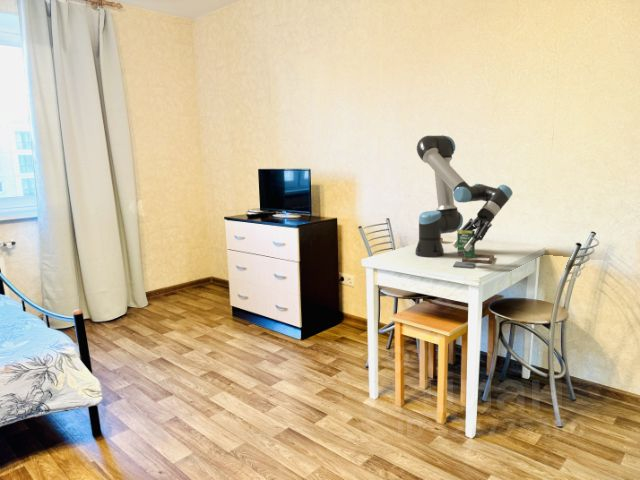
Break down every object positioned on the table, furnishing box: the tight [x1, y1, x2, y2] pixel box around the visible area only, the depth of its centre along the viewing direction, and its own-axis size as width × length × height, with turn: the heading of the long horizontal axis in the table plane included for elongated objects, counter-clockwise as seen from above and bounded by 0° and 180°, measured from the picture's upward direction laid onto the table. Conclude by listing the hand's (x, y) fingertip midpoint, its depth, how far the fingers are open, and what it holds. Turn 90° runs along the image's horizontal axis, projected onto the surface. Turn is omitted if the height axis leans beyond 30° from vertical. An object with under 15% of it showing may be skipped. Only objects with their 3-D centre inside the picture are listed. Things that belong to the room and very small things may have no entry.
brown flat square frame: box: [461, 253, 495, 265], centre depth 226 cm, size 14×15×2 cm
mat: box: [452, 261, 476, 269], centre depth 215 cm, size 9×9×1 cm
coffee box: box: [456, 229, 476, 259], centre depth 212 cm, size 8×3×13 cm, turn 44°
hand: (460, 248), depth 212 cm, fingers closed on coffee box, 8 cm apart
